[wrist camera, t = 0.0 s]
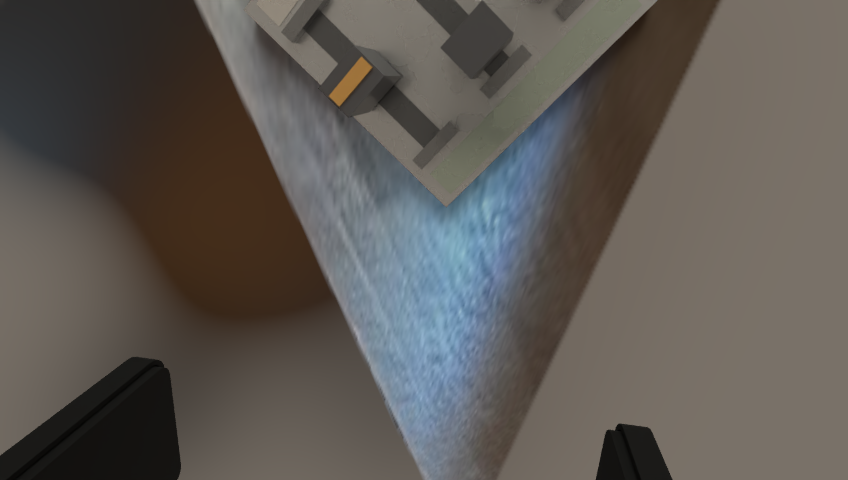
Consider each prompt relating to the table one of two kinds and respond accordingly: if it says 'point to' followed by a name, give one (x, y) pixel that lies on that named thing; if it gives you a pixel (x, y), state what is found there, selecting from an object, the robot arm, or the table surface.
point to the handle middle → (477, 41)
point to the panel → (451, 70)
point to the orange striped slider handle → (359, 81)
